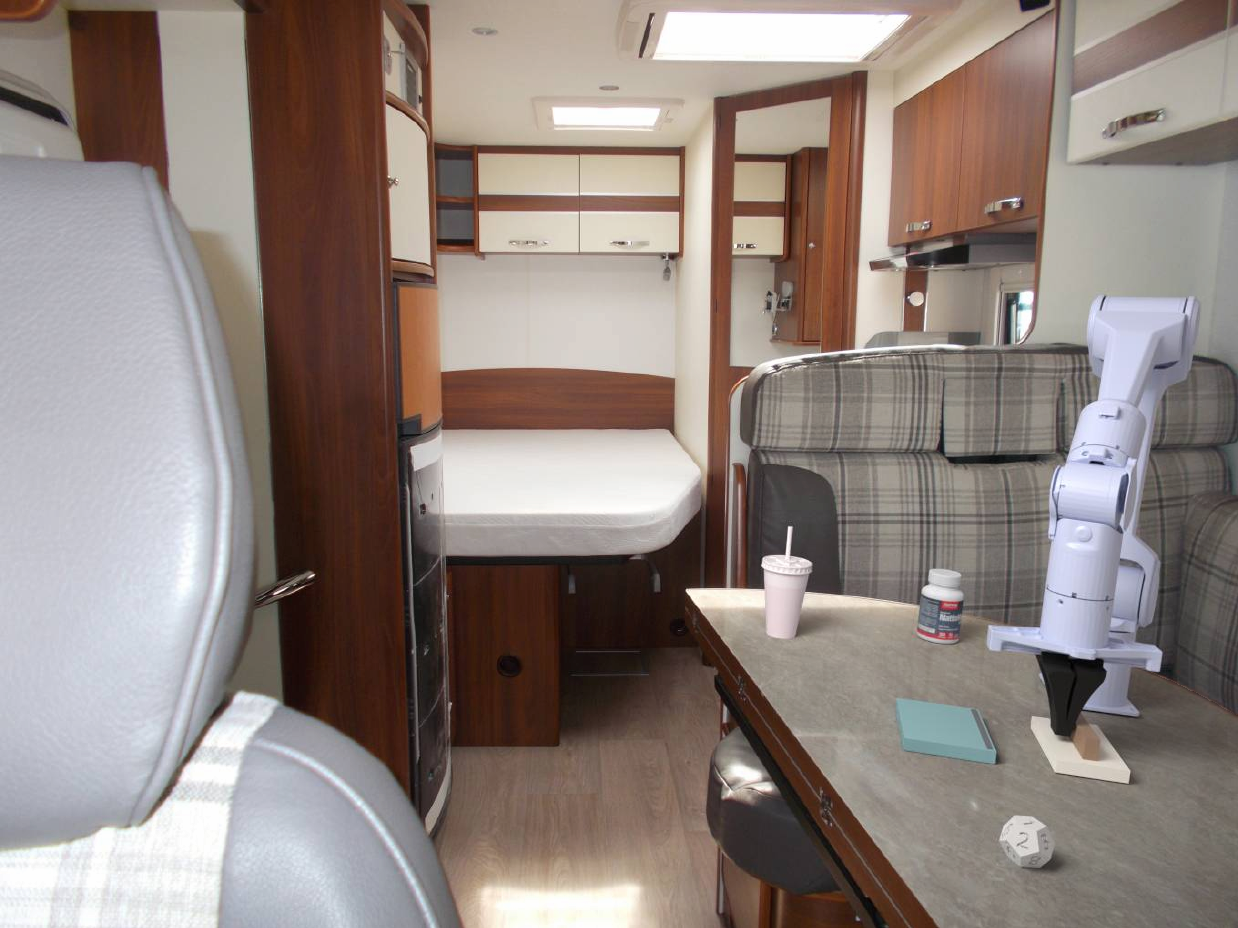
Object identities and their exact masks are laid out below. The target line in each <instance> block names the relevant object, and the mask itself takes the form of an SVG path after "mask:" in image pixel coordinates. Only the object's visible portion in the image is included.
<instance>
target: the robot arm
mask: <svg viewBox="0 0 1238 928" xmlns="http://www.w3.org/2000/svg"><path fill="white" fill-rule="evenodd" d="M1201 303H1202V302H1201V301H1200V300H1199V299H1197V296H1195V295H1189V296H1188V297H1186V296H1185V297H1182V296H1181V297H1178V296H1177V297H1176V296H1175V297H1173V296H1170V297H1169V296H1130V295H1129V296H1125V295H1124V296H1123V295H1117V296H1115V295H1107V294H1099V295H1098V296H1097V297H1096V298H1095V299H1094V300H1093V301H1092V303H1091V305H1090V310H1089V313H1088V319H1087V326H1086V327H1087V328H1086V345H1087V348H1088V358H1089V364H1090V365H1091V370H1092V374H1093V375H1094V376H1096V377H1098V378H1100V382H1099V388H1098V389H1099V391H1098V396H1097V400H1096V401H1094V402H1091V403H1089V404H1088V405H1086V406H1085V407H1083V408H1082V410H1081V412H1080V414H1079V417H1078V421H1077V424H1076V428H1075V431H1074V434H1073V437H1072V441H1071V445H1070V448H1069V451H1068V455H1067V458H1066V461H1065V464H1064V466H1062V465H1057V467H1056V468H1055V470H1054V473H1053V476H1052V478H1051V482H1050V483H1051V484H1050V489H1049V494H1048V497H1049V498H1048V508H1049V510H1048V511H1049V522H1048V523H1049V525H1048V531H1047V532H1048V540H1051V542H1050V543H1051V544H1050V549H1049V556H1048V562H1047V563H1048V565H1047V571H1046V578H1045V579H1046V580H1045V585H1044V587H1045V588H1044V594H1043V595H1044V596H1043V602H1042V603H1043V604H1042V610H1041V618H1040V624H1039V625H1040V627H1036V626H1034V627H1032V626H1006V625H1005V626H1002V625H1001V626H1000V625H992V624H991V625H990V624H989V625H988V627H987V636H986V646H987V649H988V650H989V651H992V652H1003V651H1008V652H1009V651H1010V652H1015V653H1016V652H1017V653H1023V654H1030V655H1031V654H1032V655H1035V659H1036V662H1037V664H1038V666H1039V670H1040V672H1039V674H1038V677H1039V679H1040V680H1041V681H1042V683H1043V685H1044V686H1045V690H1046V694H1047V700H1048V707H1049V716H1050V717H1049V718H1050V727H1051V729H1052V730H1053V732H1054V734H1055V735H1059V736H1066V737H1070V736H1071V733H1072V730H1073V728H1074V725H1075V723H1076V721H1077V719H1078V717H1079V715H1080V713H1081V714H1082V711H1083V710H1084V711H1085V710H1086V711H1094V712H1100V713H1108V714H1114V715H1122V716H1129V717H1130V716H1131V717H1139V716H1140V714H1141V713H1140V711H1139V710H1138V709H1137V708H1136V707H1135V705H1134V704H1133V702H1131V701H1130V700H1129V699H1128V691H1129V685H1130V677H1131V673H1132V672H1131V670H1132V667H1134V668H1142V669H1145V670H1146V671H1149V672H1155V673H1159V672H1161V665H1162V659H1163V651H1162V650H1161V649H1160V648H1158V647H1157V646H1156V645H1155V644H1147V643H1140V642H1136V636H1137V630H1138V629H1139V628H1146V627H1147V626H1149V625H1150V624H1152V622H1153V620H1154V615H1155V611H1156V608H1157V607H1156V606H1157V600H1158V594H1159V587H1160V570H1161V561H1160V559H1159V556H1158V554H1157V553H1156V552H1155V551H1154V550H1153V549H1152V548H1151V547H1150V546H1149V545H1148V544H1147V543H1145V542H1144V541H1143V540H1142V539H1141V538H1140V537H1138V535H1137V528H1138V522H1139V517H1140V512H1141V511H1140V510H1141V506H1142V500H1143V493H1144V488H1145V481H1146V476H1147V471H1148V470H1147V469H1148V464H1149V458H1150V452H1151V447H1152V440H1153V434H1154V429H1155V422H1156V417H1157V412H1158V407H1159V405H1160V403H1161V401H1162V398H1163V396H1164V395H1165V392H1166V390H1167V388H1168V387H1170V386H1172V385H1175V384H1177V383H1181V382H1183V381H1186V380H1187V376H1188V372H1190V371H1191V368H1192V365H1193V357H1194V352H1195V348H1196V344H1197V338H1198V333H1199V328H1200V327H1199V326H1200V319H1201V309H1202V308H1201V307H1202V305H1201ZM1120 562H1126V563H1129V564H1130V563H1131V564H1135V565H1138V567H1137V566H1131V565H1125V564H1120ZM1139 566H1140V567H1139Z"/></svg>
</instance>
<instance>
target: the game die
mask: <svg viewBox="0 0 1238 928" xmlns="http://www.w3.org/2000/svg"><path fill="white" fill-rule="evenodd" d="M998 841H999V843H1000V845H1001V848H1002V850H1003V851H1004V854H1005V855H1006V857H1007V858H1008V859H1009V860H1011V861H1012V862H1013V863H1015V864H1016V865H1017V866H1018V867H1020V868H1031V869H1032V868H1033V869H1040V868H1042V867H1043V866H1044V865H1046V864H1047V863H1048V862H1049V861H1050V860H1051V859H1052V856H1053V852H1054V848H1055V844H1056V842H1055V840H1054V838H1053V837H1052V834H1051V833H1050V831H1049V828H1048V826H1047V825H1045V824H1044V823H1043V822H1041V821H1040V820H1038V819H1037V818H1035V817H1034V816H1028V815H1013V817H1011V818H1010V819H1009V820H1008V821H1007V822H1006V823H1005V824H1004V825H1003V826H1002V830H1001V833H1000V836H999V840H998Z"/></svg>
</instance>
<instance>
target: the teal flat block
mask: <svg viewBox="0 0 1238 928" xmlns="http://www.w3.org/2000/svg"><path fill="white" fill-rule="evenodd" d="M894 710H895V715H896V720H897V725H898V730H899V731H898V732H899V735H900V736H899V737H900V740H901V747H902V751H905V752H906V751H907V752H912V753H913V752H914V753H919V754H924V755H925V754H926V755H931V756H938V757H943V758H944V757H946V758H951V759H958V760H965V761H971V762H977V763H978V762H979V763H984V764H991V765H996V758H997V750H996V748H995V746H994V743H993V740H992V738H991V736H990V734H989V730H988V729H987V727H986V725H985V722H984V720H983V717H982V714H981V713H980V709H978V708H972V707H966V706H964V707H963V706H957V705H950V704H943V703H937V702H936V703H935V702H929V701H922V700H916V699H914V700H913V699H908V698H901V697H895V707H894Z"/></svg>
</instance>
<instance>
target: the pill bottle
mask: <svg viewBox="0 0 1238 928" xmlns="http://www.w3.org/2000/svg"><path fill="white" fill-rule="evenodd" d="M927 580H928V582H929V584H927V585H925V586H923V588H922V589H921V593H920V601H919V607H918V608H919V609H918V618H917V627H916V635H917V636H918V637H919V638H920V639H922V640H924V641H927V642H929V643H935V644H942V645H953V644H956V643H958V642H959V640H960V634H961V626H962V617H963V616H962V615H963V610H964V609H963V608H964V601H965V596H964V595H965V594H964V592H962V590H960V589H959V587H960V586H961V584H962V574H961V573H960V572H958V571H955V570H951V569H947V568H931V569H929V571H928V579H927Z"/></svg>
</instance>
